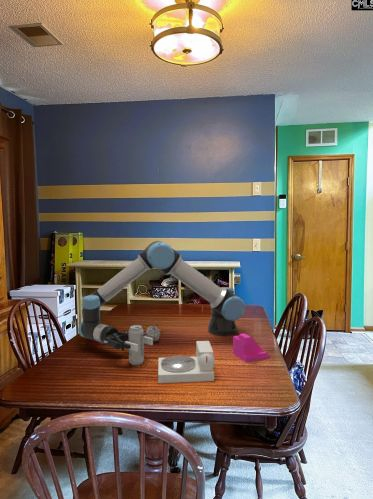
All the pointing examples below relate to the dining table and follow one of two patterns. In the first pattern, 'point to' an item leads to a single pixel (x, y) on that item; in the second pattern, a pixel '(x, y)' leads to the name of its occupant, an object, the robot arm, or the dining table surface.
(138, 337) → the energy drink can
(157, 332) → the grey rounded lump
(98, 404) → the dining table surface
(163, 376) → the scale
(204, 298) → the robot arm
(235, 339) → the bracket
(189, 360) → the scale pan
